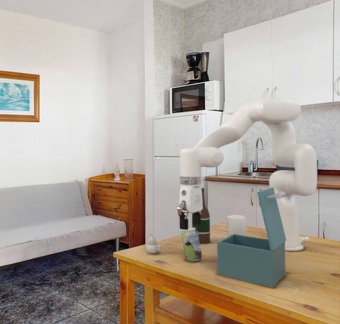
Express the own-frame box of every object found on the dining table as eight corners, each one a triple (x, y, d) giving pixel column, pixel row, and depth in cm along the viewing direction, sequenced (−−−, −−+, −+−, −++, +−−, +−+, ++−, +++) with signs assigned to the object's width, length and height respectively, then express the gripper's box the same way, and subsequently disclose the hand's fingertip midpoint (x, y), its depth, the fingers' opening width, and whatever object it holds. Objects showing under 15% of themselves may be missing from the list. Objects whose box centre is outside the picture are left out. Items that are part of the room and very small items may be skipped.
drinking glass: (245, 253, 133) (245, 215, 132) (247, 258, 126) (247, 218, 126) (226, 251, 135) (226, 214, 134) (227, 257, 128) (227, 218, 128)
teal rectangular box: (217, 274, 112) (217, 242, 111) (233, 263, 121) (233, 233, 121) (272, 287, 100) (272, 251, 100) (285, 274, 110) (285, 241, 109)
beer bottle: (212, 240, 152) (211, 187, 151) (208, 244, 145) (207, 189, 144) (194, 238, 156) (193, 186, 155) (189, 242, 149) (189, 188, 148)
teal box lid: (257, 192, 102) (274, 189, 98) (270, 187, 111) (287, 185, 108) (270, 250, 100) (289, 249, 96) (283, 240, 110) (301, 239, 106)
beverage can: (203, 263, 123) (202, 230, 122) (182, 262, 124) (181, 230, 124) (201, 257, 129) (200, 226, 128) (181, 256, 130) (180, 226, 130)
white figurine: (147, 250, 139) (146, 231, 139) (163, 252, 137) (162, 232, 137) (144, 254, 134) (143, 234, 134) (160, 256, 132) (160, 236, 132)
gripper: (188, 183, 117) (188, 232, 117) (210, 180, 129) (210, 224, 130) (169, 182, 122) (169, 229, 122) (191, 179, 134) (192, 221, 135)
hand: (190, 227), depth 126 cm, fingers open, 9 cm apart
